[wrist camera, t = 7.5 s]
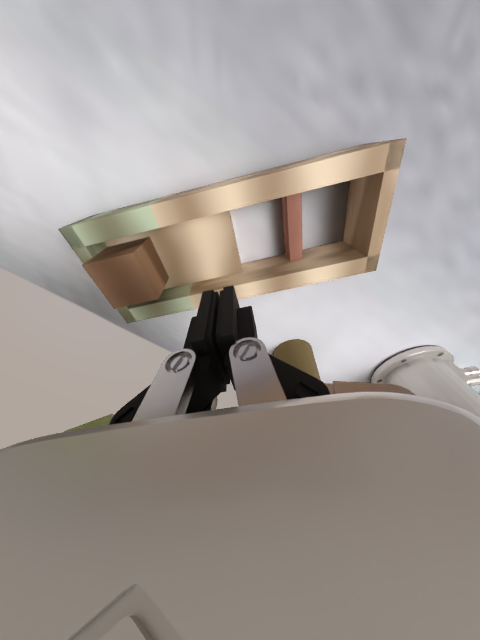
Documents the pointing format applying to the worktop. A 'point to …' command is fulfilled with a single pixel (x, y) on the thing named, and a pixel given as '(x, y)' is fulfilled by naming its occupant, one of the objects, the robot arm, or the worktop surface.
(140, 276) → the block
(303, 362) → the cork
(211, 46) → the worktop surface
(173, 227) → the box
